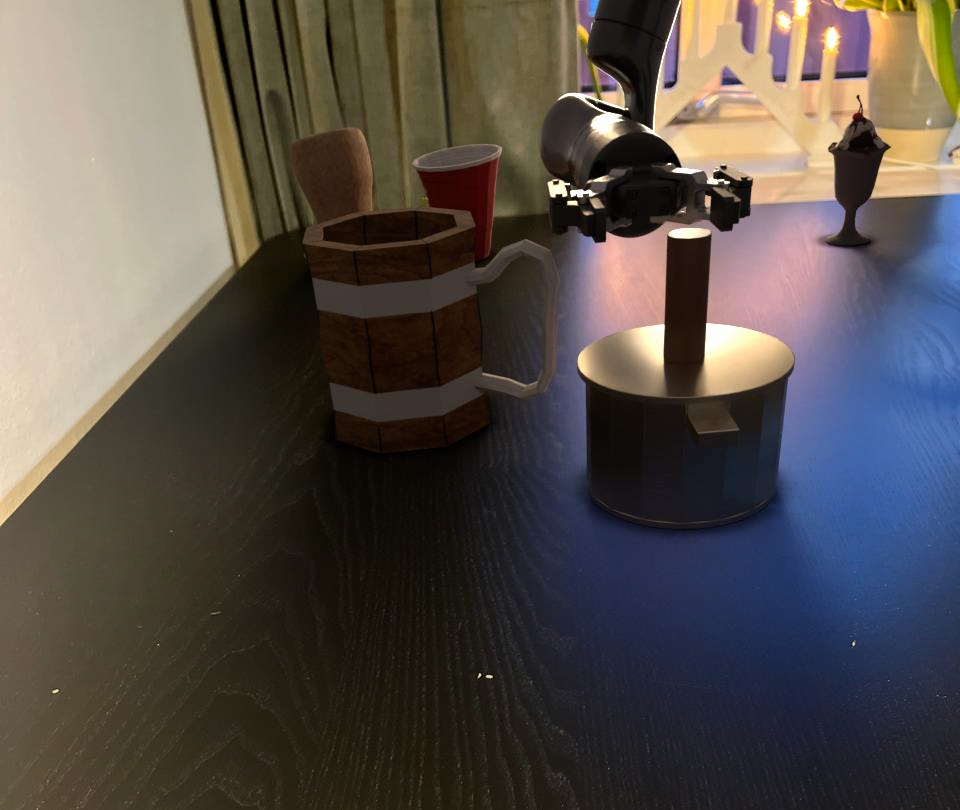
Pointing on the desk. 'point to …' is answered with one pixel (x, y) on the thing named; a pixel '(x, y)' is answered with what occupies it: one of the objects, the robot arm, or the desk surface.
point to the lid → (686, 344)
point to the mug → (413, 325)
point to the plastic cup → (464, 185)
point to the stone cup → (334, 172)
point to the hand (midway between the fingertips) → (665, 221)
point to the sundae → (855, 173)
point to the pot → (683, 458)
